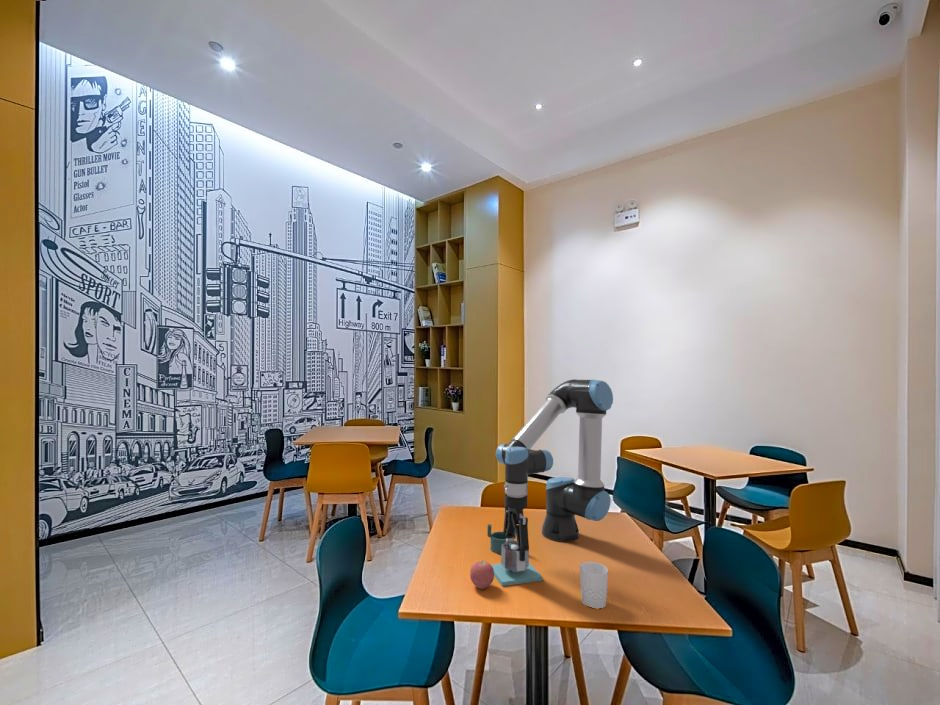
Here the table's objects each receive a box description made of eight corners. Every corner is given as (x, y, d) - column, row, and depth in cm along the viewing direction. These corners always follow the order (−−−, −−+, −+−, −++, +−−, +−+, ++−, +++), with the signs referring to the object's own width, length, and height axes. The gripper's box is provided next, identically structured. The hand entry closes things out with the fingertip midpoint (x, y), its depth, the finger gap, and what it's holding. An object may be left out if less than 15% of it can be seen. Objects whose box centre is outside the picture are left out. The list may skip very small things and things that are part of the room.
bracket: (517, 551, 154) (517, 526, 155) (497, 556, 149) (497, 530, 150) (503, 542, 162) (504, 519, 162) (484, 547, 157) (484, 523, 158)
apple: (470, 580, 131) (470, 554, 132) (493, 581, 131) (493, 555, 131) (469, 592, 124) (470, 565, 124) (494, 593, 124) (494, 566, 124)
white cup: (576, 596, 123) (576, 561, 124) (601, 595, 124) (601, 561, 124) (585, 611, 115) (585, 574, 116) (612, 610, 116) (612, 573, 117)
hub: (521, 557, 141) (521, 540, 142) (531, 569, 133) (532, 550, 134) (498, 560, 139) (498, 542, 139) (507, 571, 131) (508, 552, 131)
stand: (526, 563, 144) (527, 537, 144) (542, 580, 132) (542, 551, 133) (489, 568, 140) (489, 540, 140) (502, 586, 128) (502, 555, 129)
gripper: (494, 486, 146) (493, 551, 145) (518, 504, 126) (517, 580, 125) (513, 485, 149) (513, 549, 147) (540, 503, 128) (539, 577, 127)
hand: (515, 563), depth 136 cm, fingers closed on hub, 8 cm apart
